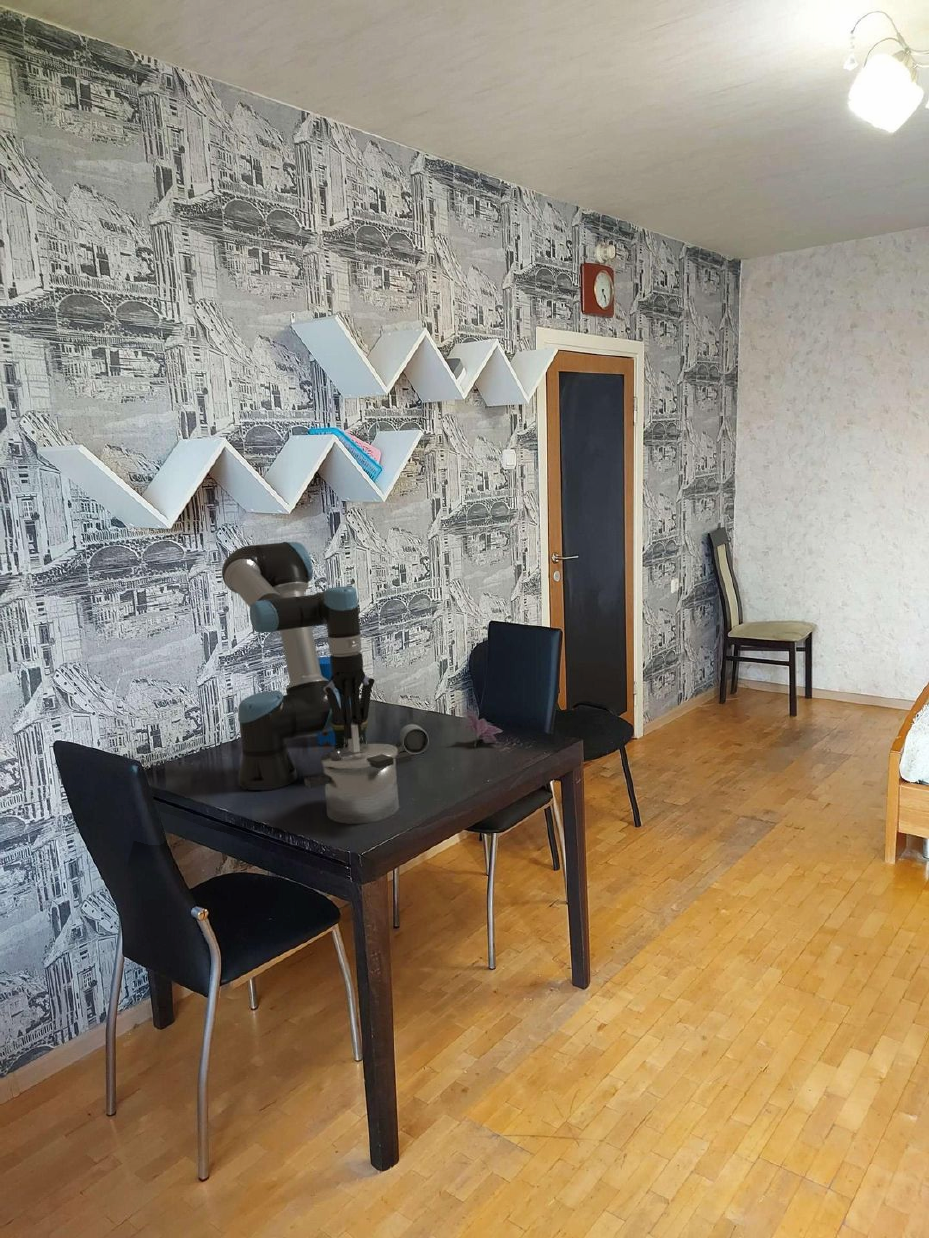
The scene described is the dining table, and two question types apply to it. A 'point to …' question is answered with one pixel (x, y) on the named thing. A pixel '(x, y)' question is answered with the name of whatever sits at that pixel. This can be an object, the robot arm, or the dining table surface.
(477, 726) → the lily
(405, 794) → the dining table surface
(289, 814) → the dining table surface
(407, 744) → the ceramic mug
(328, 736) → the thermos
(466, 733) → the dining table surface
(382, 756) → the pot lid
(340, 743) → the coffee jar
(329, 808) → the steel pot
